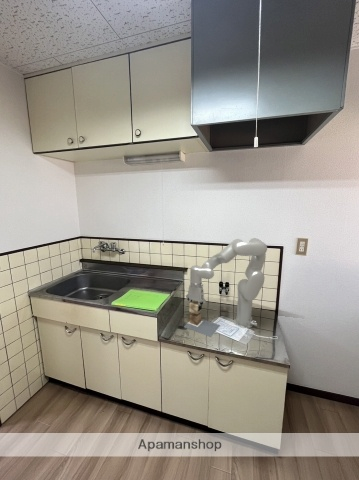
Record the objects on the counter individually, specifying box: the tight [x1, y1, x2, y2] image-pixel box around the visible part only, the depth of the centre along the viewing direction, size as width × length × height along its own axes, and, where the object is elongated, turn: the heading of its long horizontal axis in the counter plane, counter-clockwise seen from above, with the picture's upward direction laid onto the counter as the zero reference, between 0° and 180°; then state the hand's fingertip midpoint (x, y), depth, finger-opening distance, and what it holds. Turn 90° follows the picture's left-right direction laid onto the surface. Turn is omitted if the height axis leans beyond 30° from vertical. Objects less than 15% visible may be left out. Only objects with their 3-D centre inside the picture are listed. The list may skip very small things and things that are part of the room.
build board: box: [183, 318, 221, 338], centre depth 149 cm, size 20×15×1 cm
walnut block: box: [189, 312, 203, 326], centre depth 152 cm, size 6×6×6 cm
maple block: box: [188, 300, 202, 314], centre depth 151 cm, size 6×6×6 cm
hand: (195, 308), depth 151 cm, fingers closed on maple block, 5 cm apart
